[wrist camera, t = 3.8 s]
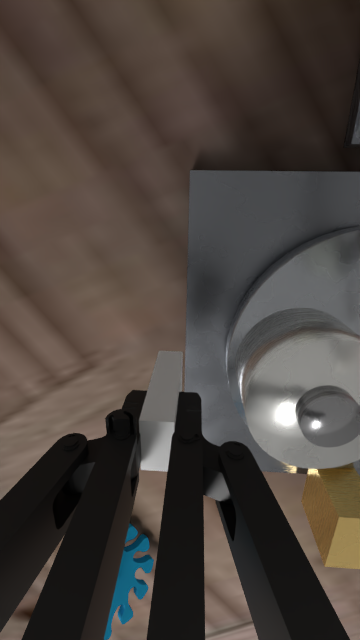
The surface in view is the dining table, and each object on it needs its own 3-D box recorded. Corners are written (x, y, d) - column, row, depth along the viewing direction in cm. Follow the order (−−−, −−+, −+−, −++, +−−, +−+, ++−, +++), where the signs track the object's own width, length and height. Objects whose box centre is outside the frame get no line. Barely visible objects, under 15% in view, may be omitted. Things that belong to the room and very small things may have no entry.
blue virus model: (169, 580, 31) (85, 680, 26) (144, 549, 36) (68, 628, 31) (129, 497, 30) (29, 586, 24) (107, 476, 34) (20, 546, 29)
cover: (230, 409, 21) (242, 479, 16) (240, 305, 19) (258, 345, 13) (342, 415, 21) (395, 488, 15) (368, 309, 18) (445, 352, 13)
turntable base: (183, 456, 27) (182, 468, 26) (190, 172, 19) (189, 169, 18) (448, 471, 26) (462, 485, 25) (579, 176, 18) (609, 173, 17)
